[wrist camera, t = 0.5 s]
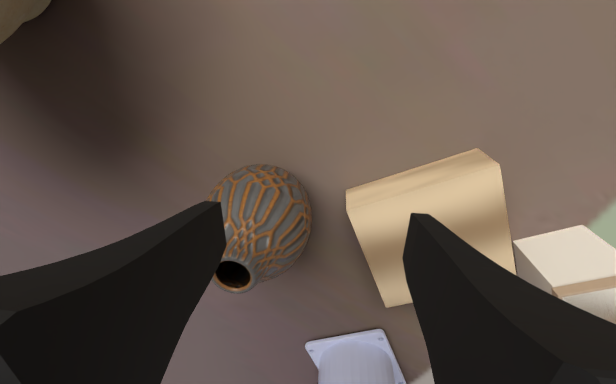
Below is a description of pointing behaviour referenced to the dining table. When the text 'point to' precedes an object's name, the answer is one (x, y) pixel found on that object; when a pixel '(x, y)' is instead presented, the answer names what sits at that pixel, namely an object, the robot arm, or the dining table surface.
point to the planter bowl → (18, 14)
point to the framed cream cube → (571, 268)
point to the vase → (260, 225)
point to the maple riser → (436, 202)
